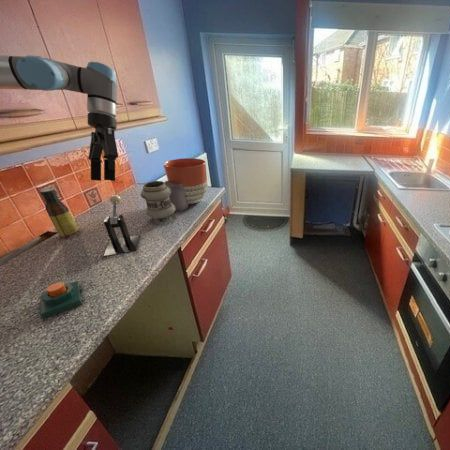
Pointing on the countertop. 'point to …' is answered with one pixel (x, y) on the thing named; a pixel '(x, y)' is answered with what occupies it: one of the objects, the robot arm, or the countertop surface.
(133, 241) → the bracket
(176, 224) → the countertop surface
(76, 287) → the button housing
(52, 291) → the button
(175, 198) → the pillar candle
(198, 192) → the planter
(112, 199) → the lever
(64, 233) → the sauce bottle
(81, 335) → the countertop surface
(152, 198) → the apothecary jar
